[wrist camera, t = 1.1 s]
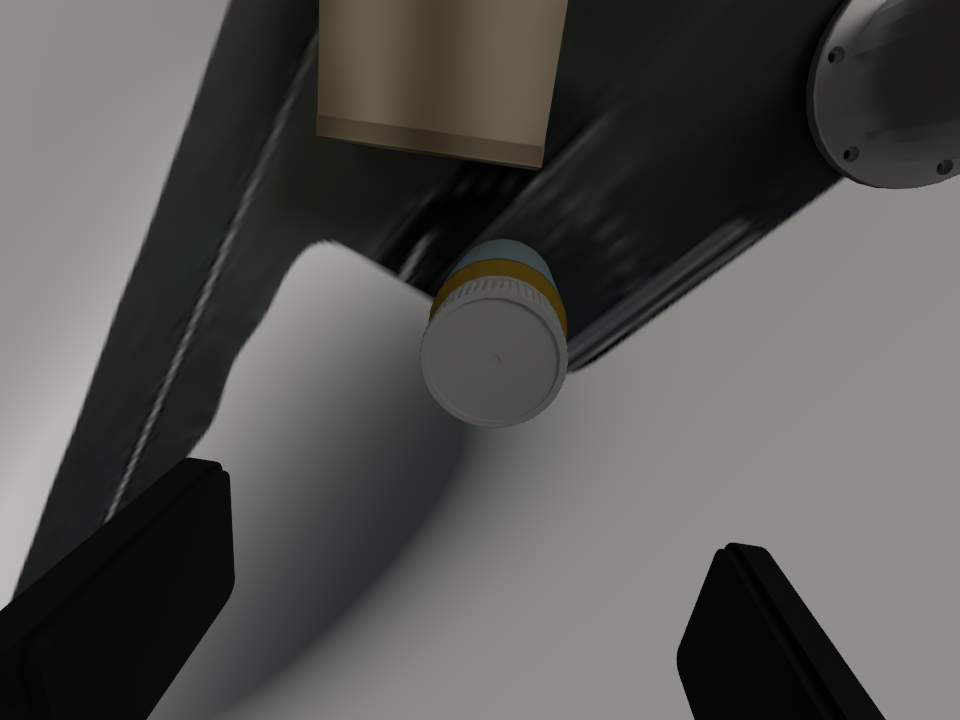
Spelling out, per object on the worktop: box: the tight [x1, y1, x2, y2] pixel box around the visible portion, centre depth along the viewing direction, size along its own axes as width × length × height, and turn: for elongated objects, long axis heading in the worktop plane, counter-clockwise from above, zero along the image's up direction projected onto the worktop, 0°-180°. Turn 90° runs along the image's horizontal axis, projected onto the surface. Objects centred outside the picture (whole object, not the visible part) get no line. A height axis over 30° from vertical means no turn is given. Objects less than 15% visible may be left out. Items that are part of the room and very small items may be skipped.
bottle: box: [420, 239, 568, 428], centre depth 27 cm, size 7×7×15 cm
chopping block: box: [316, 0, 568, 170], centre depth 26 cm, size 12×12×6 cm
